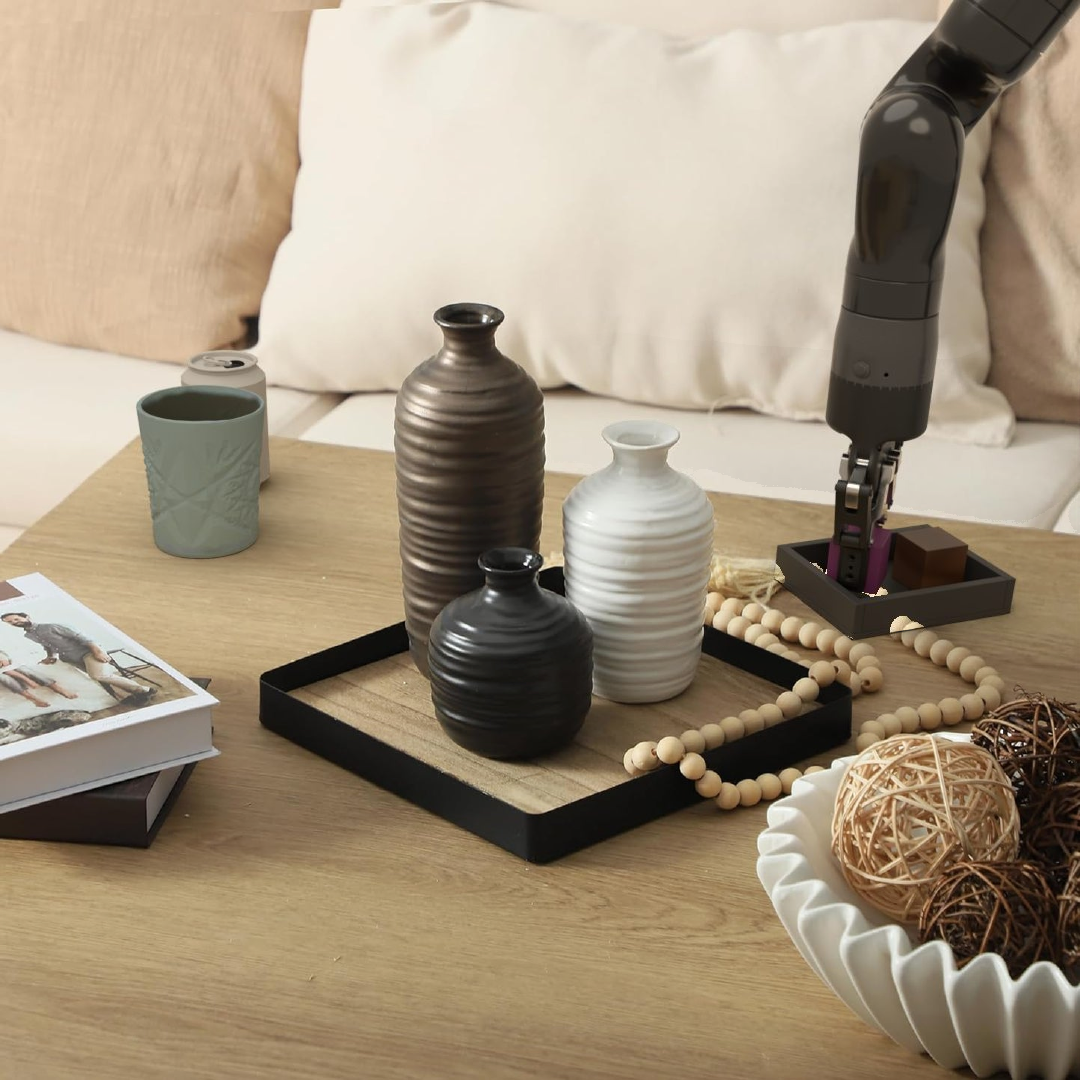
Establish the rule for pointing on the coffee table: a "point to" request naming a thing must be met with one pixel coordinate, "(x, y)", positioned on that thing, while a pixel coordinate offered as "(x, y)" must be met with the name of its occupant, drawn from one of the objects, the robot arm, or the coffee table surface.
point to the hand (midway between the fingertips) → (856, 577)
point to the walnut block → (928, 558)
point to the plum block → (876, 560)
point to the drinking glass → (202, 467)
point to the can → (232, 383)
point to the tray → (892, 592)
